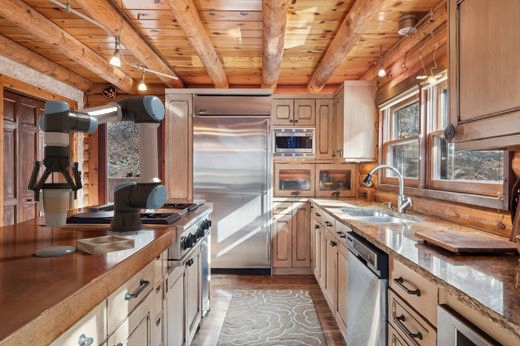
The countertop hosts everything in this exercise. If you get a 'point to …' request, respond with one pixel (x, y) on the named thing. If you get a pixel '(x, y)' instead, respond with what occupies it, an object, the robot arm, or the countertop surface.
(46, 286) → the countertop surface
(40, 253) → the disc
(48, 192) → the coffee cup
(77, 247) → the frame
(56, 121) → the robot arm
